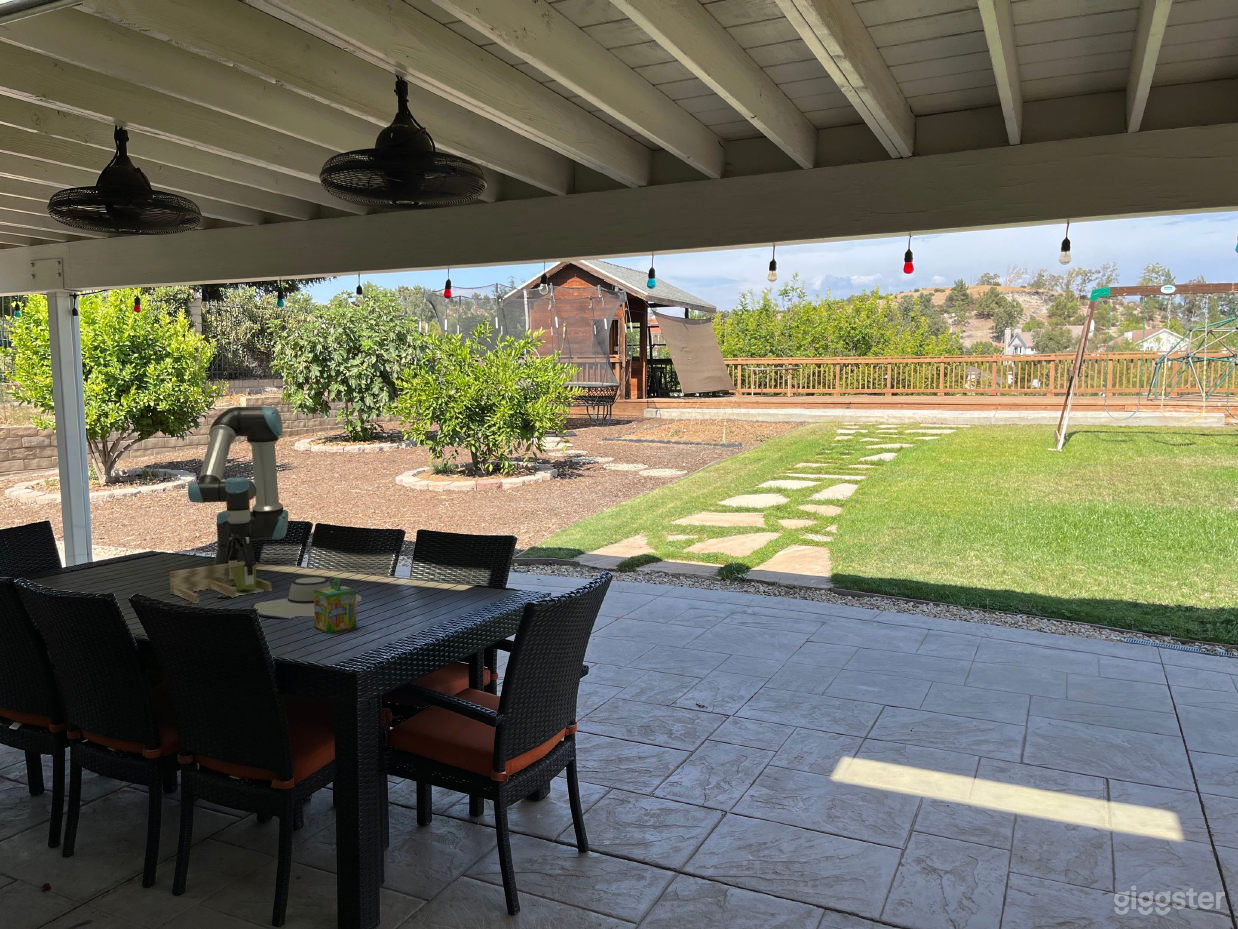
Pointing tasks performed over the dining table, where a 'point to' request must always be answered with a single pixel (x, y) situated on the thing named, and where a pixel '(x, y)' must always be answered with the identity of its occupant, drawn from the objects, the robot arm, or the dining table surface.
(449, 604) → the dining table surface
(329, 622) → the chalk box
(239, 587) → the plant pot
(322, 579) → the sun hat
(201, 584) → the notch rack
